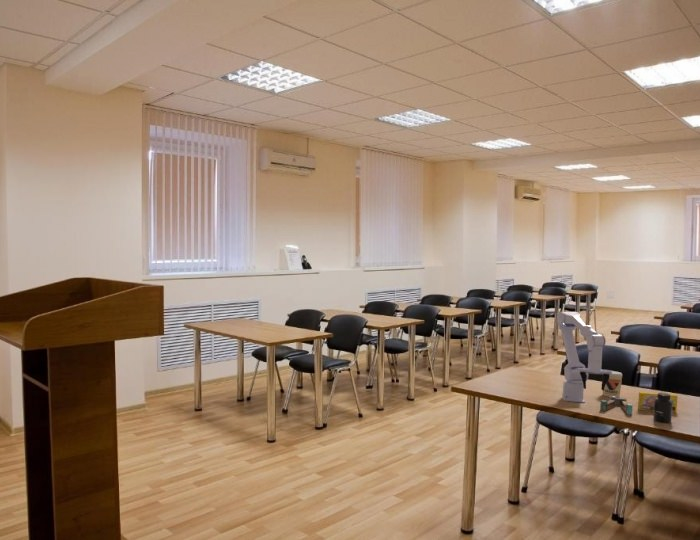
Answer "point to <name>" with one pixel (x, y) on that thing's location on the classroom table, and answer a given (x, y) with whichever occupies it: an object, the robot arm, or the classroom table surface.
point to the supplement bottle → (663, 408)
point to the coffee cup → (613, 385)
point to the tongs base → (623, 404)
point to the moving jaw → (607, 405)
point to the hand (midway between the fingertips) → (593, 389)
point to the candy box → (653, 401)
